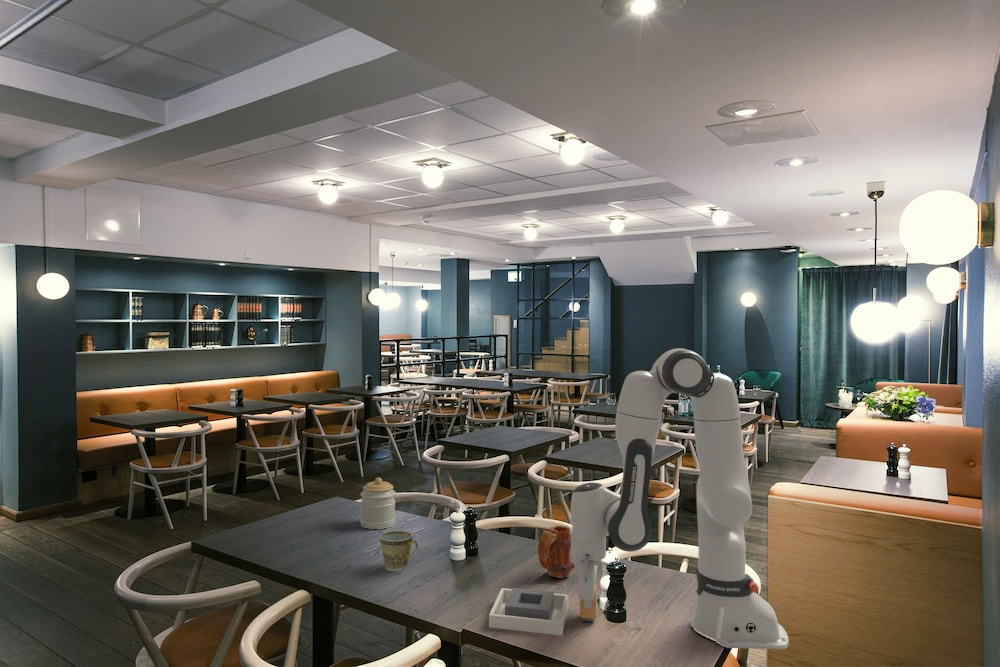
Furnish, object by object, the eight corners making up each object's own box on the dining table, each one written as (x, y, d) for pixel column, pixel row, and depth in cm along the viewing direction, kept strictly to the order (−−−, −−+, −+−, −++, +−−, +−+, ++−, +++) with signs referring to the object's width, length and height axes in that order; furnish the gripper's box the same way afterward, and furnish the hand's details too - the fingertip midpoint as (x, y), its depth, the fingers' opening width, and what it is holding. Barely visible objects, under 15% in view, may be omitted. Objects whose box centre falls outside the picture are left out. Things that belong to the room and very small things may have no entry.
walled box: (568, 609, 163) (568, 594, 163) (562, 639, 148) (562, 623, 148) (501, 602, 167) (501, 588, 167) (488, 631, 151) (489, 614, 151)
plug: (596, 615, 158) (596, 584, 158) (596, 622, 154) (596, 590, 154) (580, 614, 159) (580, 583, 159) (579, 621, 155) (579, 589, 155)
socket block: (554, 608, 162) (554, 591, 161) (549, 628, 151) (549, 610, 151) (512, 604, 164) (512, 587, 164) (504, 623, 153) (505, 605, 153)
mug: (556, 567, 192) (557, 519, 192) (578, 574, 187) (579, 525, 187) (528, 581, 181) (529, 530, 181) (551, 589, 176) (552, 537, 176)
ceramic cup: (372, 570, 188) (372, 537, 188) (392, 559, 197) (393, 528, 197) (407, 578, 182) (407, 544, 182) (426, 567, 191) (427, 535, 191)
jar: (384, 517, 240) (385, 472, 240) (401, 525, 230) (402, 478, 230) (353, 523, 232) (354, 476, 232) (370, 532, 222) (370, 483, 222)
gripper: (599, 564, 145) (599, 623, 145) (602, 536, 165) (602, 587, 165) (572, 562, 147) (572, 620, 147) (578, 534, 167) (578, 585, 167)
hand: (588, 602), depth 156 cm, fingers closed on plug, 4 cm apart
